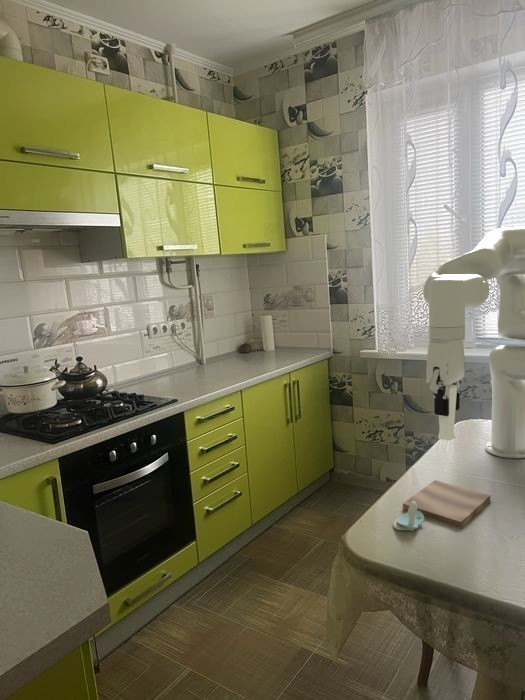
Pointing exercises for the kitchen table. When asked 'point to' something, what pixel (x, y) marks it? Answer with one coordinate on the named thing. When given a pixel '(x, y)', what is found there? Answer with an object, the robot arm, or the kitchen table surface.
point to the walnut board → (448, 503)
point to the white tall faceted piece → (448, 421)
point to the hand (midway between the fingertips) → (447, 411)
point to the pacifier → (409, 518)
